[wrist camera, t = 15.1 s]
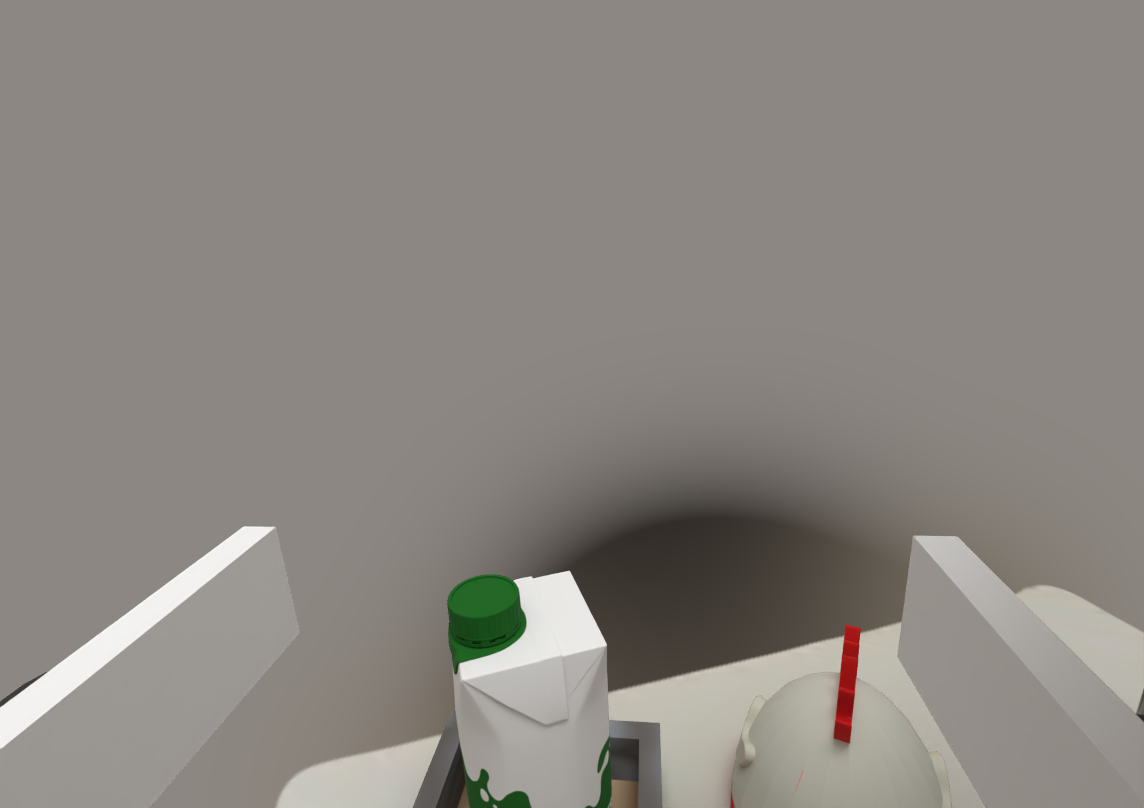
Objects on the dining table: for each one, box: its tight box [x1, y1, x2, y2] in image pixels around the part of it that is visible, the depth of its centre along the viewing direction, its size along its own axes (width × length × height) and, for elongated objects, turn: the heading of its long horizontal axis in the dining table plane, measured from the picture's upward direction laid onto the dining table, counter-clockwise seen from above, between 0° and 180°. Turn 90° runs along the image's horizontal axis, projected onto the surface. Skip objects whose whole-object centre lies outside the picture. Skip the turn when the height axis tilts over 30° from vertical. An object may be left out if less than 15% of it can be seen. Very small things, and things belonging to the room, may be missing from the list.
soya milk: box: [448, 571, 612, 808], centre depth 35 cm, size 9×9×20 cm
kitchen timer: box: [731, 625, 952, 808], centre depth 38 cm, size 14×14×15 cm
